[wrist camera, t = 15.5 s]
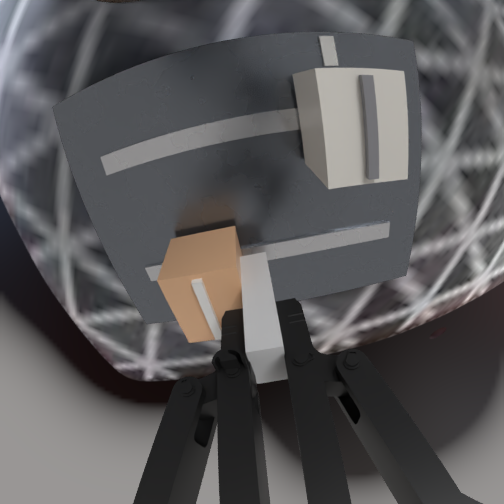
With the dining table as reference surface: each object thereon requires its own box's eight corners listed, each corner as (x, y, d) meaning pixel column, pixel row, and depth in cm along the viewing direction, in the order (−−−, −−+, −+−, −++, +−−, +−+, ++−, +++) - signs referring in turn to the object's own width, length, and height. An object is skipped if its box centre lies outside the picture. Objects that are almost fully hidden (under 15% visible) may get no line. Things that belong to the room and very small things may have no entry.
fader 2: (292, 74, 11) (317, 67, 8) (363, 72, 11) (407, 71, 8) (305, 163, 14) (330, 192, 10) (370, 156, 14) (411, 181, 10)
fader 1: (170, 238, 16) (155, 284, 12) (235, 225, 16) (236, 270, 12) (194, 298, 19) (189, 346, 15) (250, 289, 19) (255, 337, 15)
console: (68, 103, 13) (50, 107, 11) (396, 43, 12) (415, 40, 10) (151, 307, 22) (146, 325, 21) (395, 261, 22) (407, 276, 20)
